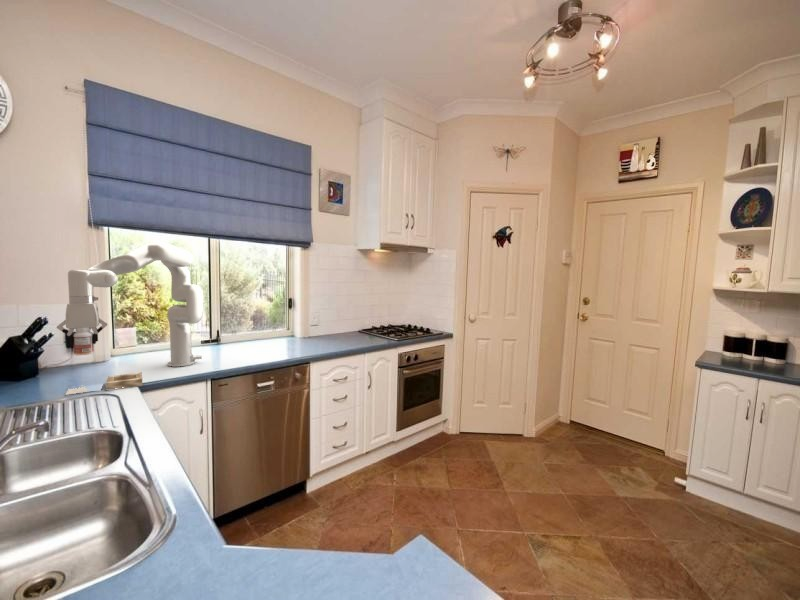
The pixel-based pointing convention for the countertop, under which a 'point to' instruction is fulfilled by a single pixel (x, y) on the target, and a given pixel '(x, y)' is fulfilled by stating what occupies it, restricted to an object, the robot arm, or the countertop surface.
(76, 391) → the cream pad
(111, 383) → the holder block
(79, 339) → the pill bottle
